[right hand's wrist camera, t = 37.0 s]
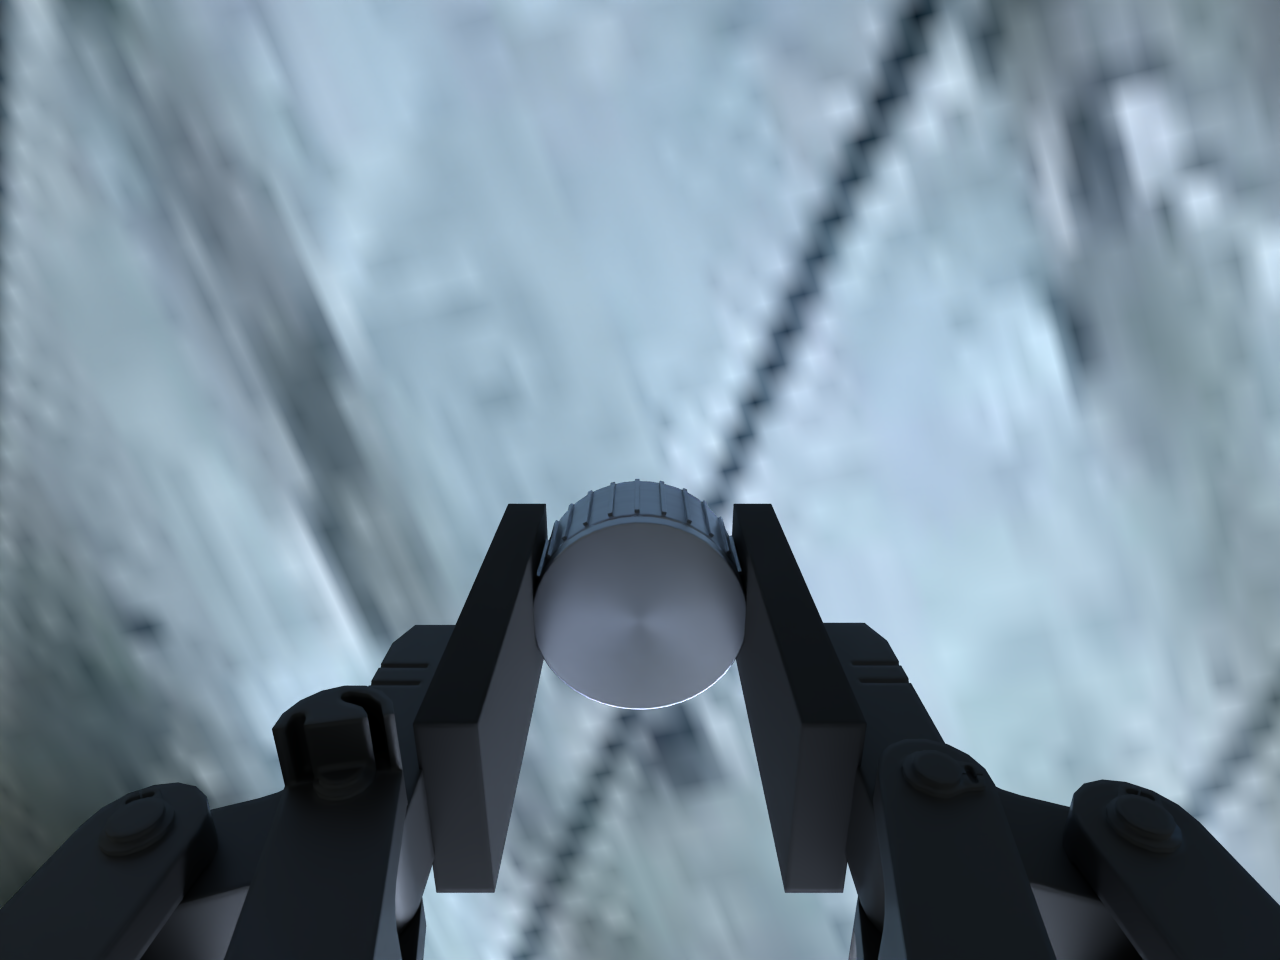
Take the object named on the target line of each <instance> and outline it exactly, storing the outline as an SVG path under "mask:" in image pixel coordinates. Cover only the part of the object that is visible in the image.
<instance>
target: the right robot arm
mask: <svg viewBox="0 0 1280 960" xmlns="http://www.w3.org/2000/svg"><path fill="white" fill-rule="evenodd" d="M732 537H733V540H734V543H735V547H736V551H737V554H738V558H739V561H740V565H741V569H742V572H743V575H740V576H741V580H742V584H743V587H744V591H745V595H746V617H745V633H744V643H743V645H742V647H741V650H740V652H739V654H738V656H737V657H736V661H737V666H738V671H739V676H740V681H741V685H742V690H743V695H744V700H745V704H746V709H747V714H748V719H749V723H750V728H751V733H752V738H753V742H754V747H755V752H756V757H757V761H758V766H759V771H760V776H761V780H762V785H763V790H764V795H765V799H766V804H767V809H768V814H769V818H770V823H771V828H772V833H773V838H774V842H775V847H776V852H777V857H778V861H779V866H780V871H781V876H782V880H783V885H784V890H785V893H843V889H844V882H845V875H846V868H847V862H848V865H849V868H850V871H851V875H852V878H853V881H854V884H855V887H856V890H857V894H858V900H857V906H856V913H855V920H854V926H853V933H852V939H851V946H850V953H849V960H1280V905H1279V904H1278V903H1277V902H1276V901H1275V900H1274V899H1273V898H1272V897H1271V896H1270V895H1269V894H1268V893H1267V892H1266V891H1265V890H1264V889H1263V888H1262V887H1261V886H1260V885H1259V884H1258V882H1257V881H1256V880H1255V879H1254V878H1253V877H1252V876H1251V875H1250V874H1249V873H1248V872H1247V871H1246V870H1245V869H1244V868H1243V867H1242V866H1241V865H1240V864H1239V863H1238V862H1237V861H1236V860H1235V859H1234V858H1233V857H1232V855H1231V854H1230V853H1229V852H1228V851H1227V850H1226V849H1225V848H1224V847H1223V846H1222V845H1221V844H1220V843H1219V842H1218V841H1217V840H1216V839H1215V838H1214V837H1213V836H1212V835H1211V834H1210V833H1209V832H1208V831H1207V830H1206V828H1205V827H1204V826H1203V825H1202V824H1201V823H1200V822H1198V821H1197V820H1196V819H1195V818H1194V817H1192V816H1191V815H1190V814H1189V813H1188V812H1186V811H1185V810H1184V809H1183V808H1182V807H1180V806H1179V805H1178V804H1176V803H1174V802H1172V801H1170V800H1169V799H1167V798H1165V797H1163V796H1161V795H1159V794H1158V793H1156V792H1154V791H1152V790H1149V789H1146V788H1143V787H1140V786H1137V785H1133V784H1130V783H1127V782H1121V781H1111V780H1098V781H1094V782H1089V783H1084V784H1083V785H1082V786H1081V787H1080V788H1079V789H1078V790H1077V791H1076V792H1075V793H1074V795H1073V798H1072V802H1071V805H1070V807H1067V806H1063V805H1059V804H1055V803H1050V802H1046V801H1042V800H1038V799H1034V798H1029V797H1025V796H1021V795H1018V794H1015V793H1011V792H1008V791H1005V790H1002V789H1000V788H998V787H996V786H995V784H994V782H993V781H992V779H991V778H990V776H989V774H988V773H987V771H986V769H985V768H984V767H982V766H981V765H980V764H979V763H978V762H976V761H975V760H974V759H973V758H972V757H971V756H969V755H968V754H966V753H964V752H962V751H960V750H958V749H956V748H954V747H952V746H950V745H948V744H945V742H944V741H943V739H942V737H941V735H940V734H939V732H938V730H937V728H936V727H935V725H934V723H933V721H932V719H931V718H930V716H929V714H928V712H927V711H926V709H925V707H924V705H923V704H922V702H921V700H920V698H919V696H918V695H917V693H916V691H915V689H914V688H913V686H912V684H911V683H909V681H908V677H907V675H906V673H905V672H904V670H903V668H902V666H899V661H898V659H897V657H896V656H895V654H894V652H893V650H892V649H891V647H890V645H889V643H888V642H887V640H885V639H884V638H883V637H882V636H880V635H879V634H878V633H877V632H875V631H874V630H873V629H872V628H870V627H869V626H868V625H867V624H865V623H823V622H822V619H821V617H820V615H819V613H818V610H817V608H816V606H815V603H814V601H813V599H812V597H811V594H810V592H809V590H808V587H807V585H806V583H805V580H804V578H803V576H802V574H801V571H800V569H799V567H798V564H797V562H796V560H795V558H794V555H793V553H792V551H791V548H790V546H789V544H788V541H787V539H786V537H785V535H784V532H783V530H782V528H781V525H780V523H779V521H778V518H777V516H776V514H775V512H774V509H773V507H772V505H771V504H734V508H733V528H732ZM546 540H548V536H547V517H546V504H508V506H507V508H506V511H505V513H504V515H503V517H502V520H501V522H500V524H499V527H498V529H497V531H496V533H495V536H494V538H493V540H492V543H491V545H490V547H489V550H488V552H487V554H486V556H485V559H484V561H483V563H482V566H481V568H480V570H479V572H478V575H477V577H476V579H475V582H474V584H473V586H472V589H471V591H470V593H469V595H468V598H467V600H466V602H465V605H464V607H463V609H462V611H461V614H460V616H459V618H458V621H457V623H456V625H415V626H414V627H412V628H411V629H410V630H408V631H407V632H406V633H405V634H403V635H402V636H401V637H400V638H398V639H397V640H396V641H395V642H393V643H392V645H391V647H390V649H389V651H388V652H387V654H386V656H385V658H384V660H383V661H382V663H381V668H378V670H377V672H376V674H375V676H374V677H373V679H372V681H371V686H341V687H337V688H332V689H328V690H323V691H320V692H318V693H316V694H314V695H311V696H309V697H307V698H305V699H302V700H300V701H299V702H298V703H296V704H295V705H294V706H292V707H291V708H290V709H288V710H287V711H286V712H284V713H283V714H282V715H281V717H280V718H279V720H278V721H277V722H276V724H275V725H274V727H273V728H272V731H273V736H274V740H275V744H276V749H277V753H278V757H279V762H280V766H281V770H282V775H283V779H284V783H285V787H284V790H282V791H280V792H277V793H274V794H271V795H268V796H265V797H262V798H258V799H254V800H250V801H246V802H242V803H237V804H233V805H229V806H225V807H221V808H216V809H212V810H210V807H209V804H208V800H207V797H206V796H205V795H204V794H203V793H202V792H201V791H200V790H199V789H198V788H197V787H196V786H191V785H187V784H182V783H169V784H160V785H153V786H150V787H147V788H144V789H141V790H138V791H135V792H132V793H129V794H127V795H125V796H123V797H121V798H119V799H118V800H116V801H114V802H112V803H110V804H108V805H107V806H105V807H103V808H101V809H100V810H99V811H98V812H97V813H95V814H94V815H93V816H92V817H91V818H89V819H88V820H87V821H86V822H85V823H83V824H82V825H81V826H80V827H79V828H78V829H77V830H76V831H75V832H74V833H73V834H72V835H71V836H70V837H69V838H68V840H67V841H66V842H65V843H64V844H63V845H62V846H61V847H60V848H59V849H58V850H57V851H56V852H55V853H54V854H53V855H52V856H51V857H50V858H49V859H48V860H47V861H46V863H45V864H44V865H43V866H42V867H41V868H40V869H39V870H38V871H37V872H36V873H35V874H34V875H33V876H32V877H31V878H30V879H29V880H28V881H27V882H26V883H25V884H24V886H23V887H22V888H21V889H20V890H19V891H18V892H17V893H16V894H15V895H14V896H13V897H12V898H11V899H10V900H9V901H8V902H7V903H6V904H5V905H4V906H3V907H2V909H1V910H0V960H423V956H424V944H425V933H426V920H425V913H424V906H423V900H422V896H423V893H424V889H425V886H426V883H427V880H428V877H429V873H430V870H431V867H432V864H433V871H434V878H435V886H436V893H494V892H495V888H496V883H497V878H498V873H499V869H500V864H501V859H502V854H503V850H504V845H505V840H506V835H507V831H508V826H509V821H510V816H511V812H512V807H513V802H514V797H515V793H516V788H517V783H518V778H519V774H520V769H521V764H522V759H523V755H524V750H525V745H526V740H527V735H528V731H529V726H530V721H531V716H532V712H533V707H534V702H535V697H536V693H537V688H538V683H539V678H540V674H541V669H542V664H543V659H544V658H543V656H542V654H541V652H540V650H539V648H538V646H537V643H536V639H535V624H534V608H533V597H534V594H535V590H536V586H537V583H538V580H537V579H536V574H537V570H538V567H539V563H540V559H541V556H542V552H543V549H544V545H545V542H546Z"/></svg>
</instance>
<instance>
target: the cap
mask: <svg viewBox="0 0 1280 960" xmlns="http://www.w3.org/2000/svg"><path fill="white" fill-rule="evenodd" d="M740 575H743V572H742V569H741V565H740V561H739V558H738V554H737V551H736V547H735V543H734V540H733V537H732V536H729V535H728V533H727V531H726V529H725V526H724V522H723V519H722V518H721V516H720V517H719V518H718V517H717V516H716V514H715V513H714V512H713V511H712V510H711V509H710V508H709V507H708V505H707V502H706V501H705V500H704V501H703V502H701V501H700V500H699V499H698V498H696V497H694V496H693V495H691V494H689V493H688V492H687V489H684V488H683V490H681V489H679V488H676V487H673V486H669V485H666V484H664V482H663V481H660V483H656V482H646V481H639V479H635V481H633V482H623V483H618V484H615V482H612V483H611V485H610V486H607V487H604V488H601V489H599V490H596V491H594V492H593V491H592V490H591V491H589V492H588V495H587V496H585V497H584V498H582V499H581V500H579V501H578V502H577V503H576V504H574V505H573V504H572V503H571V504H570V505H569V508H568V511H567V512H566V513H565V514H564V515H563V517H562V518H561V519H560V521H557V520H556V521H555V523H554V526H553V530H552V534H551V537H550V539H549V540H546V542H545V545H544V549H543V552H542V556H541V559H540V563H539V567H538V570H537V574H536V579H537V580H538V583H537V586H536V590H535V594H534V597H533V608H534V624H535V639H536V643H537V646H538V648H539V650H540V652H541V654H542V656H543V658H544V660H545V661H546V663H547V664H548V666H549V667H550V669H551V670H552V671H553V672H554V673H555V674H556V675H557V676H558V678H560V679H561V680H562V681H563V682H564V683H565V684H567V685H568V686H569V687H570V688H572V689H573V690H575V691H576V692H578V693H580V694H581V695H583V696H585V697H587V698H589V699H591V700H594V701H597V702H599V703H602V704H606V705H610V706H614V707H619V708H626V709H654V708H661V707H666V706H670V705H674V704H677V703H680V702H683V701H685V700H688V699H690V698H693V697H695V696H696V695H698V694H700V693H702V692H703V691H705V690H706V689H708V688H709V687H710V686H712V685H713V684H714V683H716V682H717V681H718V680H719V679H720V678H721V677H722V676H723V675H724V674H725V673H726V672H727V670H728V669H729V668H730V667H731V665H732V664H733V662H734V661H735V659H736V657H737V656H738V654H739V652H740V650H741V647H742V645H743V643H744V633H745V617H746V595H745V591H744V587H743V584H742V580H741V576H740Z"/></svg>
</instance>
